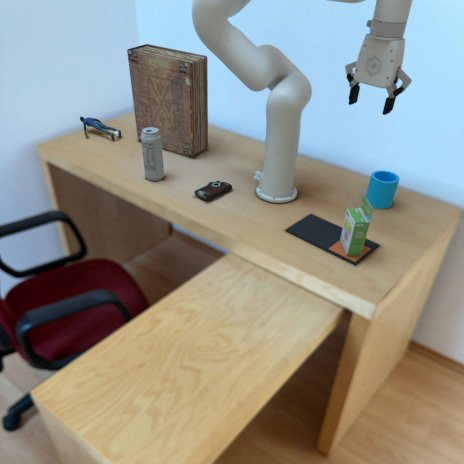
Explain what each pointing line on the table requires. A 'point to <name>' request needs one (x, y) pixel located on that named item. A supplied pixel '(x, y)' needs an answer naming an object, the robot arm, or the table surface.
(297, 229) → the desk mat
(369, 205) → the ink box
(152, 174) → the energy drink can
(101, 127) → the person figurine
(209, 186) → the camera
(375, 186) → the mug
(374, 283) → the table surface
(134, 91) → the book
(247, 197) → the table surface
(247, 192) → the table surface
